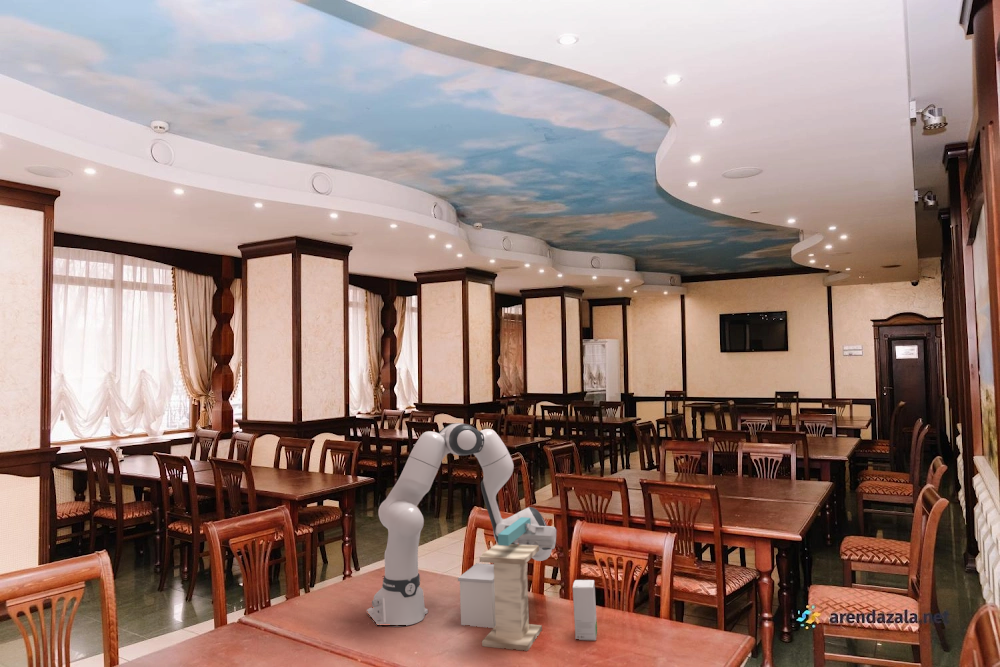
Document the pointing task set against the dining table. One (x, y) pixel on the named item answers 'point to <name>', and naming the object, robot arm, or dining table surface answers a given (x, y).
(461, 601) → the grey storage box
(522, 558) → the birch pedestal
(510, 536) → the teal bar
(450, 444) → the robot arm
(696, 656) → the dining table surface
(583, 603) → the skincare box
